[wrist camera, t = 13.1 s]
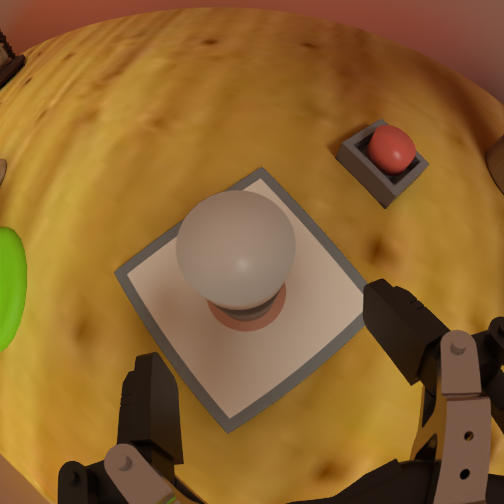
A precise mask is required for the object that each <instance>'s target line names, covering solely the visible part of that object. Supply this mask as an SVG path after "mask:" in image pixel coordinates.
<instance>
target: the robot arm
mask: <svg viewBox="0 0 504 504" xmlns="http://www.w3.org/2000/svg"><path fill="white" fill-rule="evenodd" d="M486 160H487V164H488V167H489V170H490V172H491V175H492V177H493V179H494V180H495V182H496V184H497V185H498V187H499V188H500V190H501V191H502V192H503V193H504V134H503V136H502V137H501V138H500V139H499V140H498V141H497V142H496V143H495V144H494V145H493V146H492V147H491V148H490V149H489V150H488V152H487V154H486ZM363 320H364V323H365V325H366V327H367V329H368V330H369V331H370V333H371V334H372V335H373V336H374V338H375V339H376V340H377V342H378V343H379V344H380V345H381V347H382V348H383V349H384V351H385V352H386V353H387V355H388V356H389V357H390V358H391V360H392V361H393V362H394V364H395V365H396V366H397V368H398V369H399V370H400V372H401V373H402V374H403V376H404V377H405V378H406V380H407V381H408V382H409V384H410V385H411V386H412V385H413V384H415V383H416V382H418V381H421V382H422V383H423V387H422V397H421V408H420V417H419V425H418V431H417V435H416V438H415V440H414V443H413V446H412V450H411V455H410V460H408V461H403V462H399V463H398V461H397V459H394V460H392V461H390V462H388V463H387V464H385V465H383V466H381V467H379V468H377V469H375V470H373V471H371V472H369V473H367V474H365V475H364V476H362V477H361V478H360V479H358V480H357V481H356V482H354V483H353V484H351V485H350V486H349V487H347V488H346V489H344V490H343V491H341V492H340V493H338V494H337V495H335V496H333V497H329V498H323V499H315V500H306V501H295V502H290V503H287V504H504V476H502V475H495V474H488V471H489V461H490V446H491V415H492V417H493V418H494V420H495V422H496V423H497V425H498V426H499V428H500V429H501V431H502V432H503V434H504V373H503V371H502V370H501V369H500V368H501V367H502V365H504V317H496V318H494V319H493V320H492V321H491V323H490V325H489V328H488V330H486V331H483V332H480V333H477V334H474V335H470V334H468V333H466V332H464V331H460V330H453V331H450V330H449V329H448V328H447V327H446V326H445V325H444V324H443V323H442V322H441V321H440V320H439V319H438V318H437V317H436V316H435V315H434V314H433V313H432V312H431V311H430V310H429V309H427V308H426V307H424V305H423V304H422V303H421V302H420V301H419V300H417V298H416V297H415V296H413V295H412V294H411V293H410V292H409V291H407V290H405V289H403V288H401V287H398V286H395V287H392V286H391V285H390V284H389V283H388V282H387V281H386V280H385V279H379V280H376V281H374V282H371V283H369V284H367V285H365V286H364V289H363ZM121 395H122V397H121V403H120V405H121V407H120V412H119V423H118V437H117V444H116V445H115V446H114V447H112V448H111V449H110V450H109V451H108V452H107V454H106V456H105V460H103V461H100V462H97V463H94V464H91V465H88V466H84V465H82V464H80V463H79V462H76V461H69V462H67V463H65V464H64V465H63V466H62V467H61V469H60V471H59V475H58V504H208V503H207V502H206V501H204V500H203V499H202V498H201V497H200V496H199V495H197V494H196V493H195V492H194V491H193V490H192V489H191V488H190V487H188V486H187V485H186V484H185V483H184V482H183V481H182V480H181V479H180V478H179V477H178V476H177V475H176V474H175V472H174V465H178V464H184V461H183V451H182V441H181V429H180V415H179V398H178V387H177V383H176V380H175V378H174V376H173V374H172V373H171V372H170V370H169V369H168V367H167V366H166V364H165V363H164V362H163V360H162V359H161V357H160V356H159V354H158V353H157V352H152V353H148V354H144V355H139V356H137V357H136V361H135V369H134V371H130V372H128V374H127V376H126V378H125V380H124V382H123V386H122V394H121Z"/></svg>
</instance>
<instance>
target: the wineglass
mask: <svg viewBox="0 0 504 504" xmlns="http://www.w3.org/2000/svg"><path fill="white" fill-rule="evenodd" d="M26 288H27V264H26V257H25V251H24V248H23V245H22V242H21V239H20V238H19V236H18V235H17V234H16V232H15V231H14V230H12V229H10V228H8V227H0V352H1V351H2V350H4V349H5V348H7V347H8V345H9V344H10V342H11V341H12V340H13V338H14V337H15V334H16V332H17V329H18V327H19V324H20V321H21V317H22V313H23V309H24V305H25V296H26Z"/></svg>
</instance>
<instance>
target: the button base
mask: <svg viewBox="0 0 504 504" xmlns="http://www.w3.org/2000/svg"><path fill="white" fill-rule="evenodd" d="M382 125H388V124H387V123H386V122H385V121H384V120H383V119H380V120H378V121H377V122H375V123H373V124H372V125H370V126H368V127H367V128H365V129H363V130H362V131H360V132H358V133H357V134H355V135H354V136H352V137H350V138H349V139H347V140H345V141H344V142H342V143H341V146H340V148H339V151H338V153H337V156H336V159H337V160H338V161H339V162H340V163H341V164H342V165H343V166H344V167H345V168H346V169H347V170H348V171H349V172H350V173H351V174H352V175H353V176H354V177H355V178H356V179H357V180H358V181H359V182H360V183H361V184H362V185H363V186H364V187H365V188H366V189H367V190H368V191H369V192H370V193H371V194H372V195H373V197H374V198H375V199H376V200H377V201H378V202H379V203H380V204H381V205H382V206H383V207H384V209H386V208H387V207H388V206H389V205H390V204H391V203H392V202H393V201H394V200H395V199H396V198H397V197H398V196H399V195H400V194H401V193H402V192H404V191H405V190H406V189H407V188H408V187H409V186H410V185H411V184H412V183H413V182H414V181H415V180H416V179H417V178H418V177H419V176H420V175H421V173H422V172H423V171H424V170H425V169H426V168H427V167H428V165H429V163H428V162H427V161H426V160H425V159H424V158H423V157H422V156H421V155H420V154H419V153H418V152H417V151H416V155H415V157H414V159H413V160H412V161H411V163H410V164H409V165H408V166H407V168H406V169H405V170H404V172H403V173H402V174H400V175H398V176H389V175H386V174H383V173H382V172H381V171H380V170H379V169H378V168H377V167H376V166H375V165H374V164H373V163H372V162H371V161H370V160H369V159H368V157H367V154H366V149H367V146H368V144H369V142H370V140H371V138H372V136H373V134H374V132H375V130H376V129H377V128H378V127H379V126H382Z"/></svg>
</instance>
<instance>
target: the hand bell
mask: <svg viewBox="0 0 504 504" xmlns="http://www.w3.org/2000/svg"><path fill="white" fill-rule="evenodd" d="M5 171H6V161H5V160H4V159H0V184H1V182H2V180H3V177H4V175H5Z"/></svg>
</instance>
